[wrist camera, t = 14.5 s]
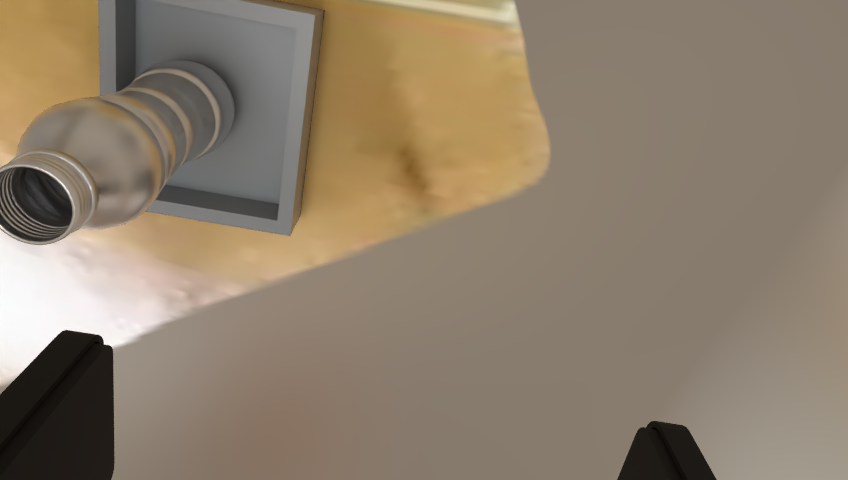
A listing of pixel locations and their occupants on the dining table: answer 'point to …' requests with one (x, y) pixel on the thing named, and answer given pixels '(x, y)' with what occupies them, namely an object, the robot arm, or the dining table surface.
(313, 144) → the dining table surface
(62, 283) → the dining table surface
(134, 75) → the grey bin
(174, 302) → the dining table surface
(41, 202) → the plastic bottle
